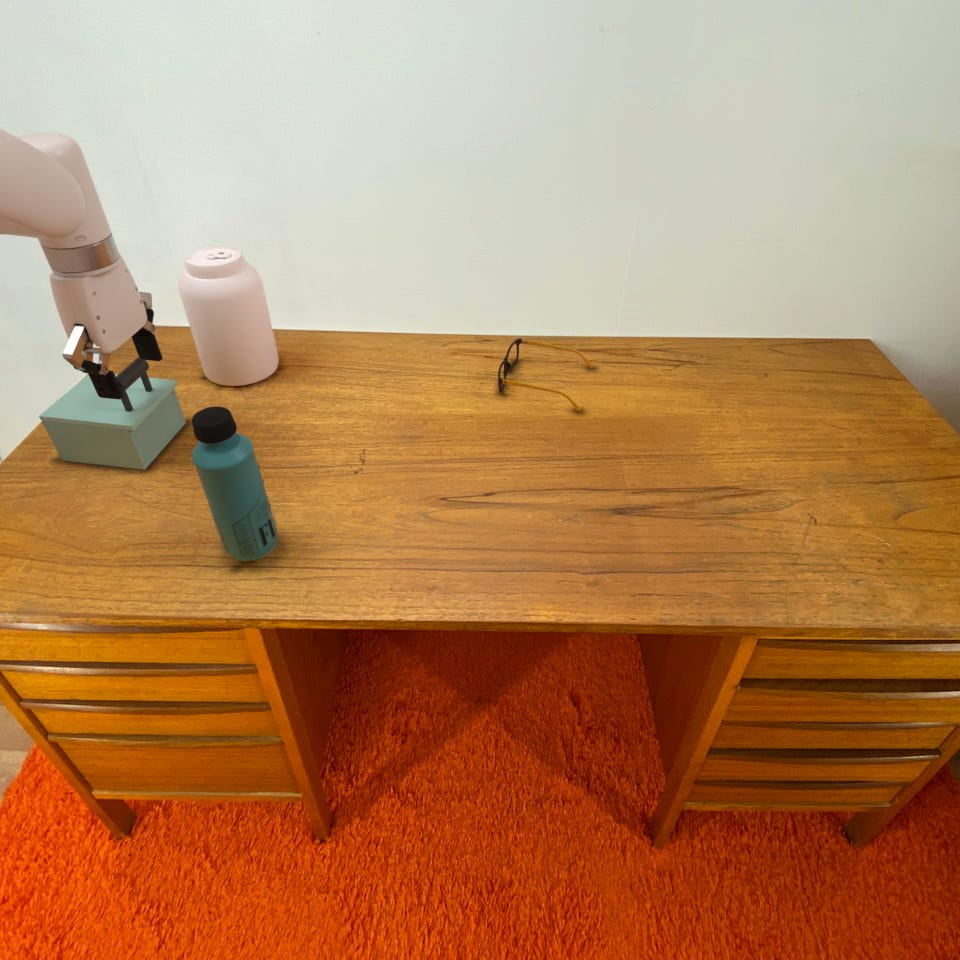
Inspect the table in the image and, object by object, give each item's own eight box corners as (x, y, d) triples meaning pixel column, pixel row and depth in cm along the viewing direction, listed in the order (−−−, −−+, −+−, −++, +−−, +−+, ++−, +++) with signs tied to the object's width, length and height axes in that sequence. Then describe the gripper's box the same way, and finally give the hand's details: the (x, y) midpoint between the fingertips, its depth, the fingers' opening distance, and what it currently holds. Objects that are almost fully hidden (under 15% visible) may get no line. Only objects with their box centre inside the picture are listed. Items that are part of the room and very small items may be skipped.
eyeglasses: (512, 356, 115) (513, 336, 112) (592, 368, 112) (595, 348, 109) (492, 398, 104) (493, 376, 102) (580, 412, 101) (583, 391, 99)
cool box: (186, 422, 98) (173, 384, 93) (144, 470, 89) (128, 430, 84) (110, 414, 99) (93, 376, 95) (61, 460, 90) (41, 421, 86)
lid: (178, 384, 93) (166, 349, 89) (133, 430, 84) (118, 393, 81) (93, 376, 95) (78, 341, 91) (40, 420, 86) (21, 383, 82)
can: (264, 344, 117) (239, 233, 104) (291, 373, 109) (268, 258, 96) (194, 363, 111) (159, 249, 98) (218, 396, 103) (183, 276, 90)
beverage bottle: (274, 572, 75) (234, 434, 62) (218, 570, 75) (166, 432, 62) (288, 532, 80) (253, 397, 67) (235, 531, 80) (190, 396, 67)
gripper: (97, 225, 82) (141, 344, 93) (1, 280, 69) (66, 411, 80) (151, 229, 81) (189, 348, 93) (65, 285, 68) (121, 416, 80)
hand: (132, 377), depth 86 cm, fingers open, 9 cm apart
